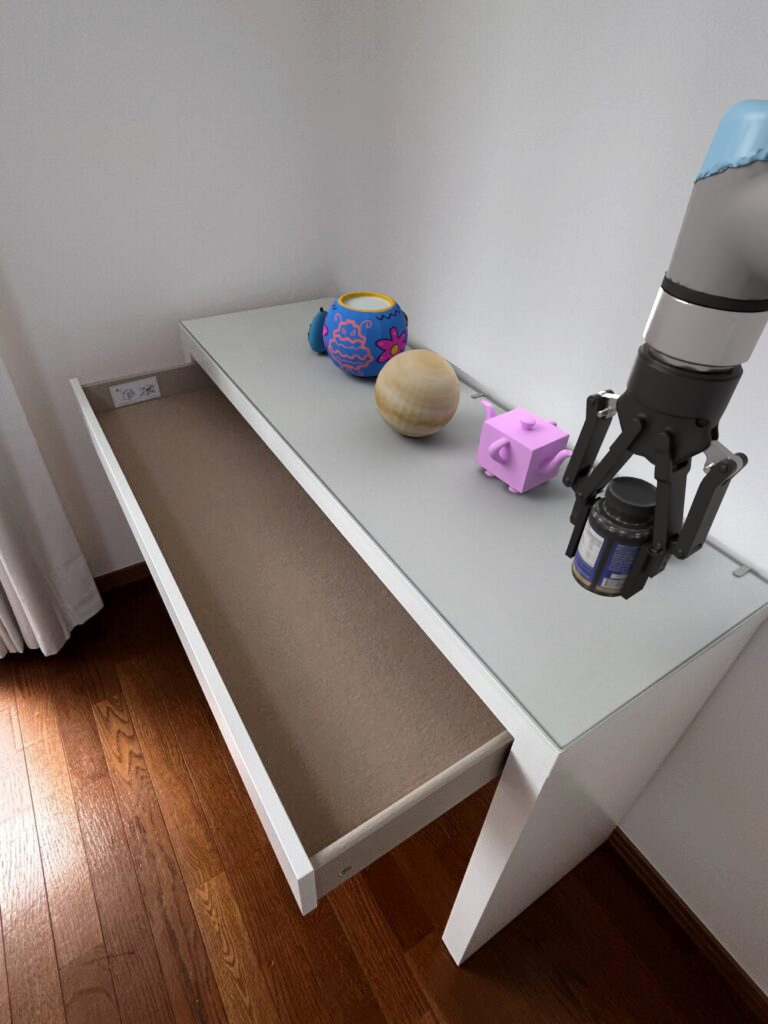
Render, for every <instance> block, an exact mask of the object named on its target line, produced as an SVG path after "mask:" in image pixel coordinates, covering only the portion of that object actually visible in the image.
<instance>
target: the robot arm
mask: <svg viewBox="0 0 768 1024" xmlns="http://www.w3.org/2000/svg"><path fill="white" fill-rule="evenodd" d="M699 169H700V170H699V172H698V173H697V174H696V175H695V176H694V179H693V187H692V190H691V193H690V197H689V199H688V203H687V206H686V209H685V213H684V217H683V218H682V223H681V226H680V228H679V232H678V236H677V239H676V242H675V245H674V249H673V252H672V255H671V258H670V262H669V265H668V268H667V270H665V272H664V276H663V278H662V281H661V285H660V286H659V289H658V292H657V295H656V297H655V300H654V302H653V306H652V309H651V311H650V314H649V317H648V320H647V322H646V325H645V328H644V330H643V333H642V337H643V340H644V343H643V344H641V345H640V346H639V347H638V349H637V351H636V354H635V357H634V360H633V363H632V366H631V369H630V371H629V375H628V378H627V381H626V389H625V390H624V392H622V393H621V394H615V392H614V390H613V389H611V388H606V389H604V390H601V391H598V392H596V393H593V394H590V395H588V396H587V398H586V401H585V402H586V403H585V420H584V422H583V425H582V427H581V430H580V432H579V435H578V438H577V440H576V443H575V446H574V448H573V450H572V451H573V453H572V455H571V457H569V460H568V463H567V465H566V468H565V470H564V474H563V475H562V479H561V481H562V484H563V486H564V487H566V488H570V489H571V490H572V491H573V492H574V497H575V500H574V503H573V505H572V510H571V512H570V516H569V523H570V524H571V525H572V526H574V527H573V529H572V533H571V535H570V538H569V541H568V544H567V547H566V550H565V553H564V555H565V556H566V557H568V558H569V559H572V558H573V559H574V557H575V554H576V551H577V549H578V546H579V543H580V540H581V537H582V534H583V531H584V528H585V526H586V523H587V520H588V517H589V514H590V511H591V509H592V506H593V505H594V504H595V503H596V502H597V501H598V500H599V499H601V498H602V497H601V496H599V495H600V494H602V493H605V492H606V490H605V488H607V486H608V484H609V482H610V481H611V480H612V479H614V478H615V477H616V475H617V474H618V473H619V472H620V470H621V469H622V468H623V467H624V466H625V465H626V464H627V462H629V460H630V459H631V458H632V457H633V456H634V455H636V456H639V457H643V458H644V459H646V460H647V461H648V462H649V463H650V464H651V465H653V466H654V470H653V471H654V472H653V478H654V480H656V487H657V489H656V503H655V516H654V530H653V539H652V540H650V541H648V542H647V543H645V544H643V545H642V547H641V549H640V551H639V554H638V556H637V558H636V560H635V562H634V565H633V567H632V569H631V571H630V574H629V576H628V578H627V580H626V582H625V585H624V587H623V589H622V591H621V593H620V596H619V597H621V598H623V600H625V601H627V600H629V599H630V598H632V597H633V596H635V595H636V594H639V592H641V591H642V590H644V588H645V586H646V584H647V581H648V580H649V578H650V579H653V578H655V577H656V576H657V575H659V574H660V573H662V572H663V571H665V569H666V567H667V565H668V563H669V562H670V559H671V557H672V555H673V556H674V557H675V558H676V559H677V560H680V561H684V560H686V559H688V558H689V557H691V556H692V555H693V554H695V553H697V552H698V551H700V550H701V549H703V548H704V547H703V546H704V544H705V542H706V540H707V537H708V535H709V533H710V531H711V528H712V525H713V523H714V521H715V519H716V516H717V514H718V511H719V510H720V507H721V505H722V502H723V500H724V497H725V495H726V493H727V490H728V489H729V486H730V484H731V482H732V480H733V478H735V476H737V475H738V474H739V473H740V472H741V471H742V470H743V469H744V468H745V467H746V466H747V465H748V463H749V457H748V456H747V455H746V453H744V452H740V451H739V452H735V453H733V452H732V451H731V450H730V449H729V448H727V446H725V445H724V444H723V443H721V442H720V441H719V437H720V432H719V431H720V430H719V425H720V421H721V419H722V417H723V415H724V413H725V412H726V410H727V408H728V407H729V404H730V402H731V400H732V397H733V396H734V393H735V391H736V389H737V387H738V385H739V383H740V381H741V378H742V377H743V374H744V369H743V367H742V364H744V363H746V362H748V361H749V360H750V358H751V357H752V354H753V352H754V351H755V348H756V346H757V344H758V343H759V340H760V338H761V336H762V334H763V332H764V329H765V328H766V326H767V324H768V99H755V98H750V99H748V98H747V99H744V100H741V101H738V102H736V103H734V104H733V105H732V106H731V107H729V108H728V109H727V110H726V111H725V112H724V113H723V115H722V116H721V119H720V120H719V122H718V125H717V127H716V130H715V133H714V135H713V138H712V140H711V142H710V145H709V147H708V150H707V152H706V154H705V157H704V159H703V161H702V165H701V167H700V168H699ZM616 414H617V419H618V423H619V426H620V430H621V432H620V433H619V435H618V436H617V437H616V438H615V440H614V441H613V443H612V444H611V445H610V446H609V447H608V449H609V450H608V451H607V453H606V454H605V455H604V456H603V457H602V459H601V460H600V461H599V463H597V465H596V466H595V467H594V469H593V466H594V465H595V462H596V459H597V457H598V454H599V452H600V450H601V448H602V445H603V444H604V440H605V438H606V436H607V434H608V432H609V428H610V426H611V424H612V421H613V419H614V417H615V416H616ZM702 453H703V454H704V456H705V457H706V458H705V459H706V460H705V463H704V465H703V467H702V468H703V469H702V471H703V472H704V474H705V475H704V476H703V478H702V479H701V481H700V483H699V485H698V487H697V488H696V491H695V494H694V497H693V500H692V502H691V505H690V508H689V510H688V513H687V515H686V518H685V519H684V511H685V502H686V500H685V499H686V492H687V481H688V475H689V473H690V471H691V470H692V461H693V458H694V457H695V456H697V455H699V454H702ZM597 495H598V496H597Z"/></svg>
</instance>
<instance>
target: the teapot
mask: <svg viewBox="0 0 768 1024" xmlns="http://www.w3.org/2000/svg"><path fill="white" fill-rule="evenodd" d="M480 402H481V404H482V405H483V407H484V409H485V414H486V418H485V419H486V420H485V419H484V421H483V422H482V427H481V431H480V437H479V442H478V447H477V452H476V458H475V463H476V464H478V465H479V466H480V467H482V468H483V469H485V475H487V476H489V477H494V478H495V477H496V478H498V479H499V480H501V481H502V482H504V483H505V484H507V485H508V490H509V491H510V492H511V493H515V494H519V493H520V494H523V493H525V492H528V491H530V490H531V489H533V488H536V487H537V486H540V485H541V484H543V483H546V482H548V481H550V480H552V479H554V478H556V477H558V474H559V472H560V468H561V466H562V465H563V463H564V462H565V461H566V459H567V458H571V455H572V453H573V450H571V449H566V448H567V445H568V443H569V439H570V434H569V433H568V432H566V431H564V430H563V429H561V428H559V427H558V423H557V422H556V421H555V420H554V419H553V420H552V419H546V420H545V419H544V418H541V417H540V416H538V415H536V414H535V413H532V412H531V411H529V410H528V409H525V408H523V407H521V406H519V407H517V408H514V409H511V410H509V411H507V412H504V413H500V414H498V415H497V414H496V411H495V410H496V409H495V408H494V405H492V403H490V402H489V401H487V400H486V399H480Z"/></svg>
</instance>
